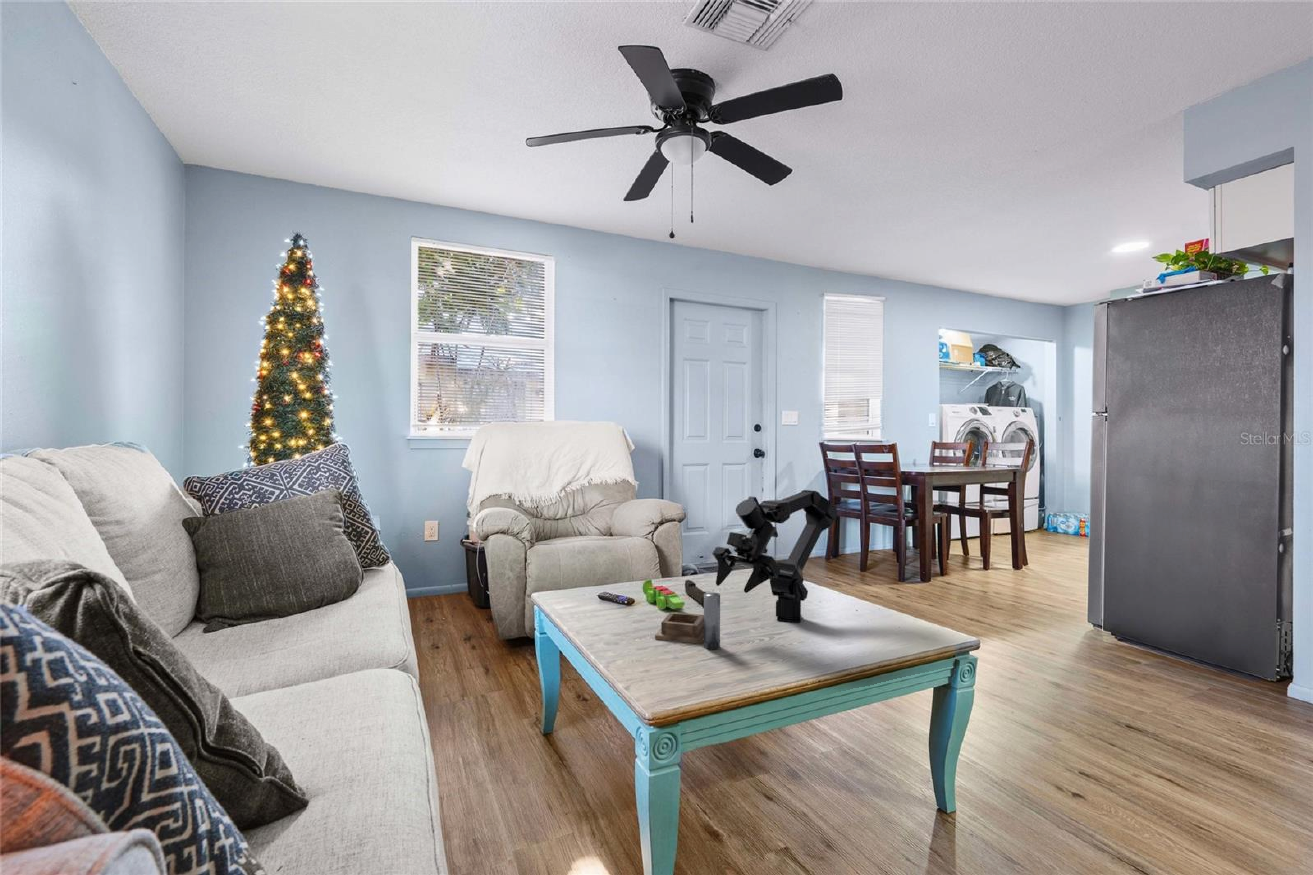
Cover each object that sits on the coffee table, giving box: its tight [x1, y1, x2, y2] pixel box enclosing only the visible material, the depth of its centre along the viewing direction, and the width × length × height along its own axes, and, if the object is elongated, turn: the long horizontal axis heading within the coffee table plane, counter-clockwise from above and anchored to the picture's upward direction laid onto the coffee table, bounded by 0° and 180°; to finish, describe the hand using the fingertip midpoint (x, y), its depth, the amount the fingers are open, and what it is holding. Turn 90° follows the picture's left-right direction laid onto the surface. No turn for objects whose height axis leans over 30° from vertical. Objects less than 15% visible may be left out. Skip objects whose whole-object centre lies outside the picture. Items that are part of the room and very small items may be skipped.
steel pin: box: [703, 591, 721, 651], centre depth 147 cm, size 4×4×13 cm
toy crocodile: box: [642, 579, 686, 611], centre depth 184 cm, size 20×7×6 cm, turn 27°
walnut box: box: [654, 611, 704, 645], centre depth 157 cm, size 12×12×4 cm
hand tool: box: [684, 579, 707, 608], centre depth 190 cm, size 19×4×5 cm, turn 15°
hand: (730, 588), depth 152 cm, fingers open, 9 cm apart
